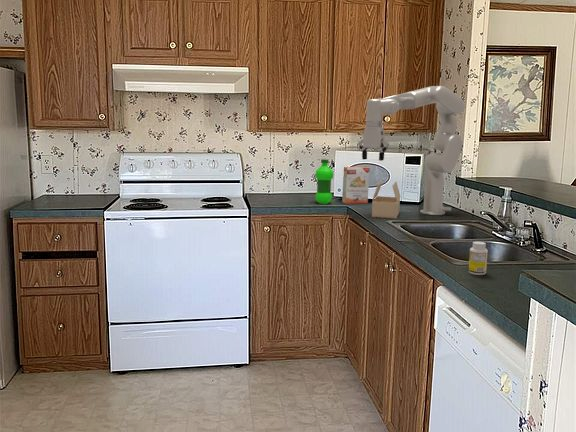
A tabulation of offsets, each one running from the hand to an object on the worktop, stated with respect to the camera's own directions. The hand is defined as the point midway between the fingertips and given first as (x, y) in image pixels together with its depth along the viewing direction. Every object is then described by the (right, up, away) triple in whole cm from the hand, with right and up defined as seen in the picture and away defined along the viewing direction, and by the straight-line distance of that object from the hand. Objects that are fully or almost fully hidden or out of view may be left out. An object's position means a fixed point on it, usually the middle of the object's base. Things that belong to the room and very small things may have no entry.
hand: (372, 159), depth 289 cm
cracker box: (-3, -21, +49) cm, 54 cm away
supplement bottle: (+20, -47, -97) cm, 110 cm away
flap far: (+4, -15, +11) cm, 19 cm away
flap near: (+13, -15, +9) cm, 22 cm away
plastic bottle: (-22, -21, +46) cm, 55 cm away
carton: (+8, -27, +12) cm, 31 cm away
